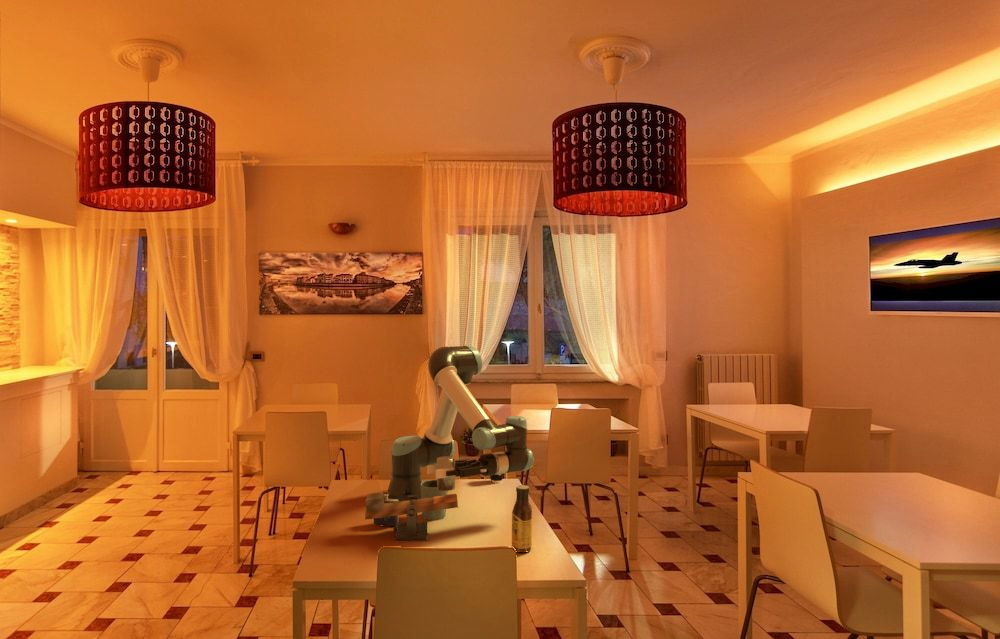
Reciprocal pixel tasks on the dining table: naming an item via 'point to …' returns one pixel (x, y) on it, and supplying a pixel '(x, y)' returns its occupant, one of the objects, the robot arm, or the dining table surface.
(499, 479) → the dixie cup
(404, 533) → the beam stand
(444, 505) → the beam
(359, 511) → the dining table surface
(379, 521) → the flask
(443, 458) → the glass jar
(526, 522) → the sauce bottle
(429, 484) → the grey cylindrical container
